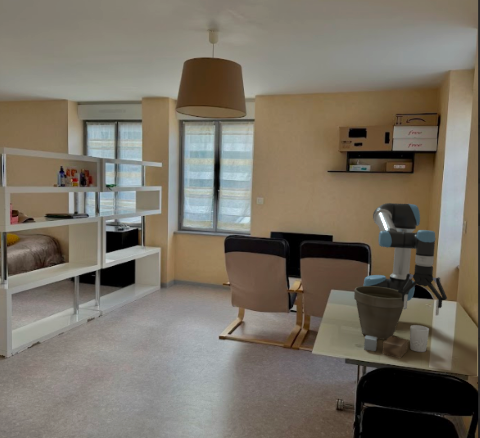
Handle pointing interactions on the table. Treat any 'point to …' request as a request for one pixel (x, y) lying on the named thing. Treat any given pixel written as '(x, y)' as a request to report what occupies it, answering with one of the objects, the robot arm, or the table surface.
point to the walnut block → (395, 346)
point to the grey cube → (370, 343)
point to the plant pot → (378, 310)
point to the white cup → (418, 338)
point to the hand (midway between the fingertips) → (420, 311)
